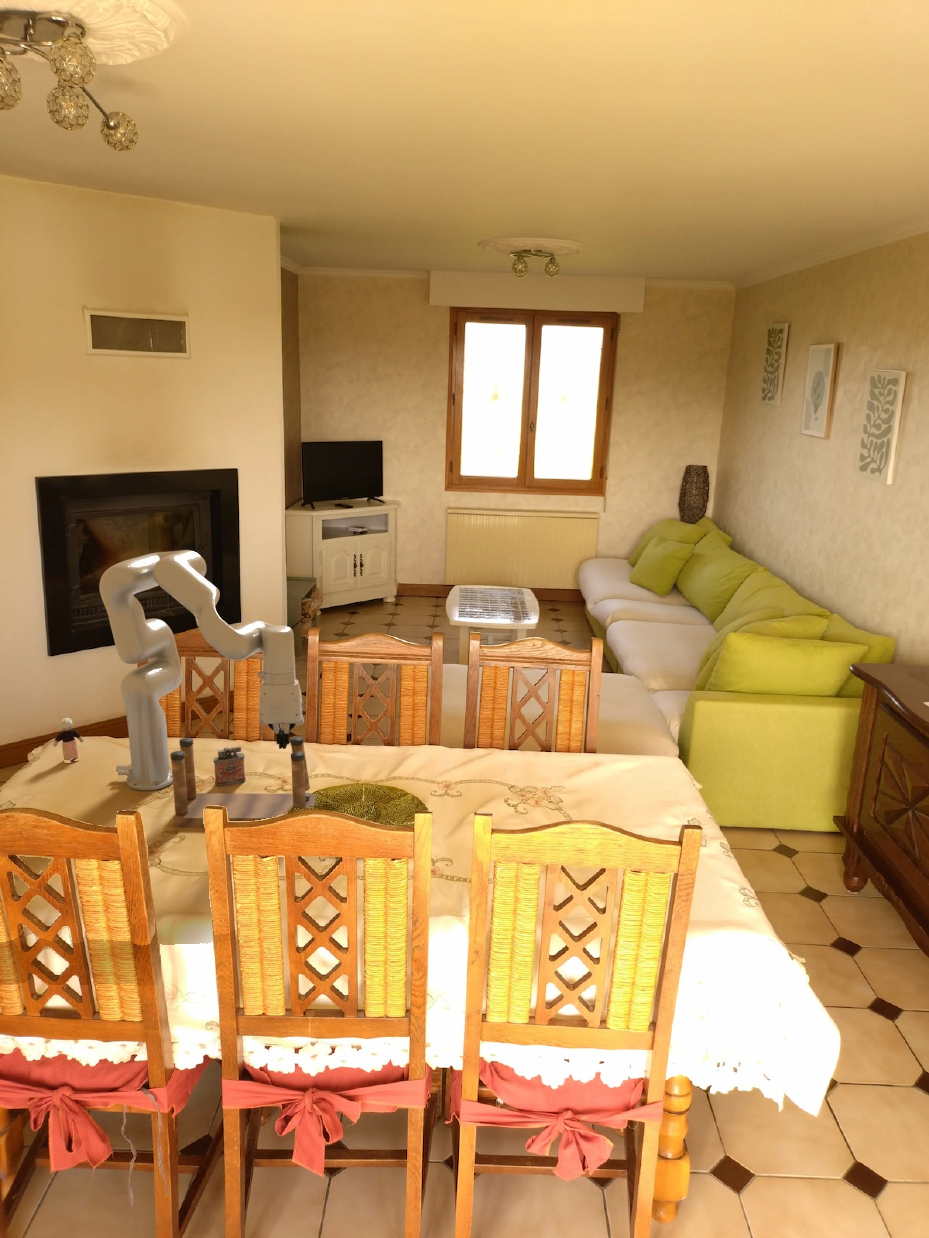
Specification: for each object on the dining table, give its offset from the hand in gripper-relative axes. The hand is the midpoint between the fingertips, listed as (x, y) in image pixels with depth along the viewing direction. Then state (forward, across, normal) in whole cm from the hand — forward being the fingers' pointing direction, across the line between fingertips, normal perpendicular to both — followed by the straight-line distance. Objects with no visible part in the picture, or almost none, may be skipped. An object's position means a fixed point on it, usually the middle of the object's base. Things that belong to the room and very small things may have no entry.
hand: (283, 746), depth 233 cm
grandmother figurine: (+16, -64, +27) cm, 71 cm away
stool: (+16, -9, -4) cm, 19 cm away
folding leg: (+5, +2, 0) cm, 5 cm away
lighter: (+16, -17, +14) cm, 27 cm away
